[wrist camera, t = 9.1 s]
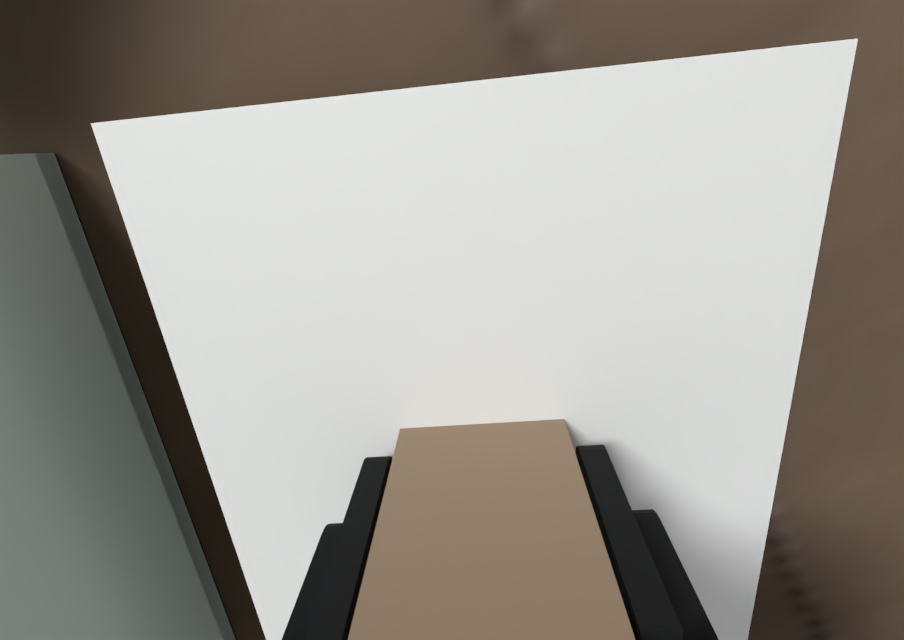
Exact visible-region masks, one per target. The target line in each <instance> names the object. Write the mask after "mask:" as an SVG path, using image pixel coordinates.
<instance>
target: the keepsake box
mask: <svg viewBox="0 0 904 640" xmlns="http://www.w3.org/2000/svg"><path fill="white" fill-rule="evenodd" d="M0 640H236V639H235V636H234V634H233V631H232V628H231V626H230V623H229V620H228V618H227V615H226V612H225V610H224V607H223V604H222V602H221V599H220V596H219V593H218V591H217V588H216V585H215V583H214V580H213V577H212V575H211V572H210V569H209V567H208V564H207V561H206V559H205V556H204V553H203V551H202V548H201V545H200V543H199V540H198V537H197V535H196V532H195V529H194V526H193V524H192V521H191V518H190V516H189V513H188V510H187V508H186V505H185V502H184V500H183V497H182V494H181V492H180V489H179V486H178V484H177V481H176V478H175V476H174V473H173V470H172V467H171V465H170V462H169V459H168V457H167V454H166V451H165V449H164V446H163V443H162V441H161V438H160V435H159V433H158V430H157V427H156V425H155V422H154V419H153V417H152V414H151V411H150V408H149V406H148V403H147V400H146V398H145V395H144V392H143V390H142V387H141V384H140V382H139V379H138V376H137V374H136V371H135V368H134V366H133V363H132V360H131V358H130V355H129V352H128V350H127V347H126V344H125V341H124V339H123V336H122V333H121V331H120V328H119V325H118V323H117V320H116V317H115V315H114V312H113V309H112V307H111V304H110V301H109V299H108V296H107V293H106V291H105V288H104V285H103V282H102V280H101V277H100V274H99V272H98V269H97V266H96V264H95V261H94V258H93V256H92V253H91V250H90V248H89V245H88V242H87V240H86V237H85V234H84V232H83V229H82V226H81V224H80V221H79V218H78V215H77V213H76V210H75V207H74V205H73V202H72V199H71V197H70V194H69V191H68V189H67V186H66V183H65V181H64V178H63V175H62V173H61V170H60V167H59V165H58V162H57V159H56V156H55V154H54V153H30V154H6V155H0Z"/></svg>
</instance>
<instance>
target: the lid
mask: <svg viewBox="0 0 904 640" xmlns="http://www.w3.org/2000/svg"><path fill="white" fill-rule="evenodd" d="M857 41H858V39H850V40H841V41H831V42H822V43H813V44H804V45H795V46H786V47H777V48H768V49H759V50H750V51H741V52H732V53H723V54H714V55H705V56H696V57H687V58H678V59H669V60H660V61H650V62H641V63H632V64H623V65H614V66H605V67H596V68H587V69H578V70H569V71H560V72H551V73H542V74H533V75H524V76H515V77H506V78H497V79H488V80H479V81H469V82H460V83H451V84H442V85H433V86H424V87H415V88H406V89H397V90H388V91H379V92H370V93H361V94H352V95H343V96H334V97H325V98H316V99H307V100H298V101H288V102H279V103H270V104H261V105H252V106H243V107H234V108H225V109H216V110H207V111H198V112H189V113H180V114H171V115H162V116H153V117H144V118H135V119H126V120H116V121H107V122H98V123H91V126H92V129H93V132H94V135H95V138H96V141H97V143H98V146H99V149H100V152H101V155H102V158H103V161H104V164H105V167H106V170H107V173H108V176H109V179H110V182H111V185H112V188H113V191H114V194H115V196H116V199H117V202H118V205H119V208H120V211H121V214H122V217H123V220H124V223H125V226H126V229H127V232H128V235H129V238H130V241H131V244H132V246H133V249H134V252H135V255H136V258H137V261H138V264H139V267H140V270H141V273H142V276H143V279H144V282H145V285H146V288H147V291H148V294H149V297H150V299H151V302H152V305H153V308H154V311H155V314H156V317H157V320H158V323H159V326H160V329H161V332H162V335H163V338H164V341H165V344H166V347H167V350H168V352H169V355H170V358H171V361H172V364H173V367H174V370H175V373H176V376H177V379H178V382H179V385H180V388H181V391H182V394H183V397H184V400H185V403H186V405H187V408H188V411H189V414H190V417H191V420H192V423H193V426H194V429H195V432H196V435H197V438H198V441H199V444H200V447H201V450H202V453H203V455H204V458H205V461H206V464H207V467H208V470H209V473H210V476H211V479H212V482H213V485H214V488H215V491H216V494H217V497H218V500H219V503H220V506H221V508H222V511H223V514H224V517H225V520H226V523H227V526H228V529H229V532H230V535H231V538H232V541H233V544H234V547H235V550H236V553H237V556H238V559H239V561H240V564H241V567H242V570H243V573H244V576H245V579H246V582H247V585H248V588H249V591H250V594H251V597H252V600H253V603H254V606H255V609H256V611H257V614H258V617H259V620H260V623H261V626H262V629H263V632H264V635H265V638H266V640H282V637H283V635H284V632H285V629H286V627H287V624H288V621H289V619H290V616H291V613H292V611H293V608H294V606H295V603H296V600H297V598H298V595H299V592H300V590H301V587H302V584H303V582H304V579H305V576H306V574H307V571H308V569H309V566H310V563H311V561H312V558H313V555H314V553H315V550H316V547H317V545H318V542H319V539H320V537H321V534H322V532H323V530H324V528H325V526H326V525H327V524H332V523H343V521H344V518H345V515H346V512H347V509H348V506H349V503H350V500H351V497H352V494H353V491H354V488H355V485H356V482H357V479H358V476H359V473H360V470H361V467H362V464H363V461H364V459H365V458H366V457H382V456H391V457H392V463H391V467H390V471H389V475H388V479H387V483H386V487H385V491H384V495H383V499H382V503H381V507H380V511H379V515H378V519H377V523H376V527H375V531H374V535H373V540H372V544H371V548H370V552H369V556H368V560H367V564H366V568H365V572H364V576H363V580H362V584H361V588H360V592H359V596H358V600H357V604H356V608H355V612H354V616H353V620H352V624H351V628H350V632H349V636H348V640H635V637H634V634H633V631H632V627H631V624H630V621H629V618H628V615H627V612H626V609H625V606H624V603H623V600H622V596H621V593H620V590H619V587H618V584H617V581H616V578H615V575H614V572H613V569H612V565H611V562H610V559H609V556H608V553H607V550H606V547H605V544H604V541H603V538H602V534H601V531H600V528H599V525H598V522H597V519H596V516H595V513H594V510H593V507H592V503H591V500H590V497H589V494H588V491H587V488H586V485H585V482H584V479H583V476H582V472H581V469H580V466H579V463H578V460H577V457H576V454H575V453H576V447H577V446H585V445H604V446H605V448H606V450H607V452H608V455H609V457H610V459H611V462H612V464H613V466H614V469H615V471H616V473H617V476H618V478H619V481H620V483H621V485H622V488H623V490H624V492H625V495H626V497H627V499H628V502H629V504H630V507H631V509H632V510H648V509H653V510H654V511H655V512H656V513H657V515H658V516H659V518H660V520H661V522H662V524H663V526H664V528H665V530H666V532H667V534H668V536H669V538H670V540H671V542H672V545H673V547H674V549H675V551H676V553H677V555H678V557H679V559H680V561H681V563H682V565H683V567H684V569H685V571H686V573H687V575H688V577H689V580H690V582H691V584H692V586H693V588H694V590H695V592H696V594H697V596H698V598H699V600H700V602H701V604H702V606H703V608H704V610H705V612H706V614H707V617H708V619H709V621H710V623H711V625H712V627H713V629H714V631H715V633H716V635H717V637H718V639H719V640H748V635H749V629H750V624H751V619H752V613H753V608H754V602H755V597H756V591H757V586H758V580H759V575H760V570H761V564H762V559H763V553H764V548H765V542H766V537H767V531H768V526H769V520H770V515H771V510H772V504H773V499H774V493H775V488H776V482H777V477H778V471H779V466H780V461H781V455H782V450H783V444H784V439H785V433H786V428H787V422H788V417H789V411H790V406H791V401H792V395H793V390H794V384H795V379H796V373H797V368H798V362H799V357H800V352H801V346H802V341H803V335H804V330H805V324H806V319H807V313H808V308H809V302H810V297H811V292H812V286H813V281H814V275H815V270H816V264H817V259H818V253H819V248H820V243H821V237H822V232H823V226H824V221H825V215H826V210H827V204H828V199H829V194H830V188H831V183H832V177H833V172H834V166H835V161H836V155H837V150H838V144H839V139H840V134H841V128H842V123H843V117H844V112H845V106H846V101H847V95H848V90H849V85H850V79H851V74H852V68H853V63H854V57H855V52H856V46H857Z"/></svg>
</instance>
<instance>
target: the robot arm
mask: <svg viewBox="0 0 904 640" xmlns="http://www.w3.org/2000/svg"><path fill="white" fill-rule="evenodd" d="M575 454H576V457H577V460H578V463H579V466H580V469H581V472H582V476H583V479H584V482H585V485H586V488H587V491H588V494H589V497H590V500H591V503H592V507H593V510H594V513H595V516H596V519H597V522H598V525H599V528H600V531H601V534H602V538H603V541H604V544H605V547H606V550H607V553H608V556H609V559H610V562H611V565H612V569H613V572H614V575H615V578H616V581H617V584H618V587H619V590H620V593H621V596H622V600H623V603H624V606H625V609H626V612H627V615H628V618H629V621H630V624H631V627H632V631H633V634H634V637H635V640H719V639H718V637H717V635H716V633H715V631H714V629H713V627H712V625H711V623H710V621H709V619H708V617H707V614H706V612H705V610H704V608H703V606H702V604H701V602H700V600H699V598H698V596H697V594H696V592H695V590H694V588H693V586H692V584H691V582H690V580H689V577H688V575H687V573H686V571H685V569H684V567H683V565H682V563H681V561H680V559H679V557H678V555H677V553H676V551H675V549H674V547H673V545H672V542H671V540H670V538H669V536H668V534H667V532H666V530H665V528H664V526H663V524H662V522H661V520H660V518H659V516H658V515H657V513H656V512H655V511H654V510H653V509H648V510H632V509H631V507H630V504H629V502H628V499H627V497H626V495H625V492H624V490H623V488H622V485H621V483H620V481H619V478H618V476H617V473H616V471H615V469H614V466H613V464H612V462H611V459H610V457H609V455H608V452H607V450H606V448H605V446H604V445H585V446H577V447H576V453H575ZM391 463H392V457H391V456H382V457H366V458H365V459H364V461H363V464H362V467H361V470H360V473H359V476H358V479H357V482H356V485H355V488H354V491H353V494H352V497H351V500H350V503H349V506H348V509H347V512H346V515H345V518H344V521H343V523H332V524H327V525H326V526H325V528H324V530H323V532H322V534H321V537H320V539H319V542H318V545H317V547H316V550H315V553H314V555H313V558H312V561H311V563H310V566H309V569H308V571H307V574H306V576H305V579H304V582H303V584H302V587H301V590H300V592H299V595H298V598H297V600H296V603H295V606H294V608H293V611H292V613H291V616H290V619H289V621H288V624H287V627H286V629H285V632H284V635H283V637H282V640H348V636H349V632H350V628H351V624H352V620H353V616H354V612H355V608H356V604H357V600H358V596H359V592H360V588H361V584H362V580H363V576H364V572H365V568H366V564H367V560H368V556H369V552H370V548H371V544H372V540H373V535H374V531H375V527H376V523H377V519H378V515H379V511H380V507H381V503H382V499H383V495H384V491H385V487H386V483H387V479H388V475H389V471H390V467H391Z"/></svg>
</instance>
